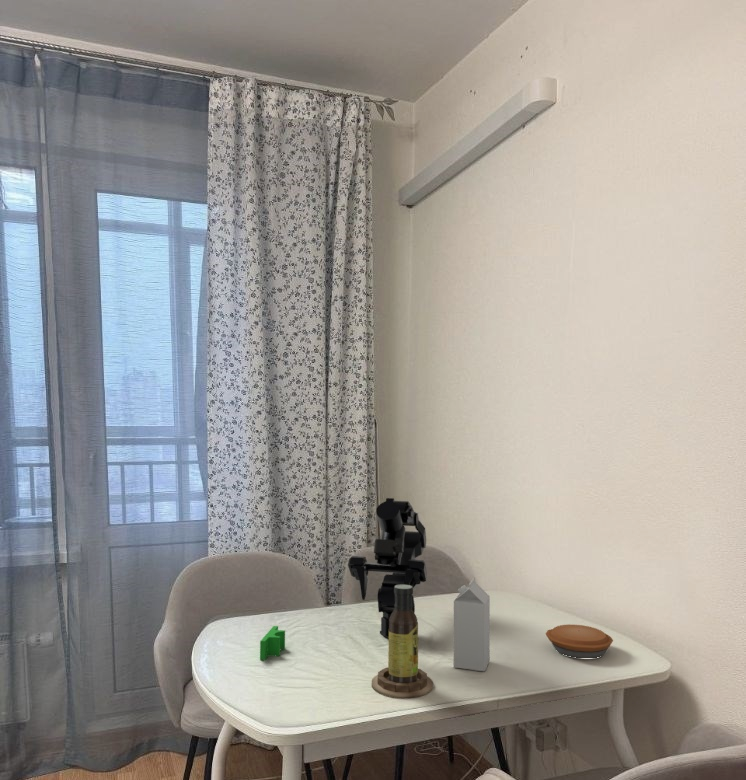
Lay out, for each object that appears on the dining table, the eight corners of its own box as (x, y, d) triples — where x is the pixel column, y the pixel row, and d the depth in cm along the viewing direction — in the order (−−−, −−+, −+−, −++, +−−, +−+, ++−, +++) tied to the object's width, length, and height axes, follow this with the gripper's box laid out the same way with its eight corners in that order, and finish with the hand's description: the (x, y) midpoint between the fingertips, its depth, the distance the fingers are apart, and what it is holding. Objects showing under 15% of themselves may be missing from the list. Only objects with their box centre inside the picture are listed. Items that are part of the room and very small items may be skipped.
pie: (626, 655, 157) (626, 634, 157) (582, 668, 148) (582, 645, 149) (575, 636, 170) (575, 617, 170) (532, 647, 162) (532, 627, 162)
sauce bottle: (419, 687, 135) (420, 590, 136) (389, 688, 135) (390, 590, 135) (415, 675, 141) (416, 582, 142) (386, 676, 141) (387, 582, 142)
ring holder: (413, 669, 147) (413, 660, 147) (445, 691, 135) (445, 681, 135) (361, 679, 141) (361, 669, 141) (389, 703, 129) (390, 692, 129)
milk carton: (489, 661, 152) (489, 578, 153) (484, 672, 145) (484, 586, 146) (459, 657, 154) (459, 576, 155) (453, 668, 147) (453, 583, 148)
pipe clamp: (275, 662, 151) (275, 641, 151) (259, 661, 151) (260, 641, 151) (288, 644, 162) (288, 626, 162) (273, 643, 162) (273, 625, 163)
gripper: (350, 523, 161) (337, 580, 150) (425, 526, 156) (417, 585, 145) (357, 548, 168) (346, 604, 157) (429, 552, 164) (422, 610, 153)
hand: (382, 600), depth 153 cm, fingers open, 9 cm apart
